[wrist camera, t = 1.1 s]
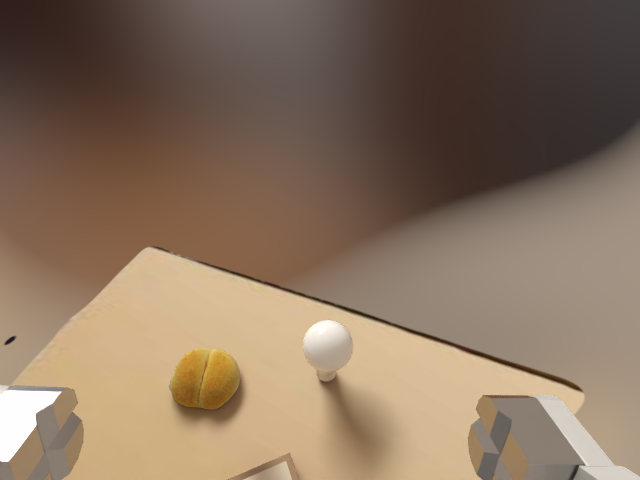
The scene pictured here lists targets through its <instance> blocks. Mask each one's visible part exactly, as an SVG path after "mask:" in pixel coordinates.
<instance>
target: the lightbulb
mask: <svg viewBox="0 0 640 480" xmlns="http://www.w3.org/2000/svg"><path fill="white" fill-rule="evenodd" d="M303 352H304V355H305V358H306V360H307V361H308V363H309V364H310V365H311V366H312V367H314V368H315V369H317V376H318V378H319V379H320V380H322V381H331V380H332V379H333V378H334V377H335V375H336V371H338V370H340V369H341V368H343V367H344V366H345V365H346V364H347V363H348V362H349V360H350V358H351V356H352V353H353V340H352V337H351V334H350V333H349V331H348V330H347V328H346V327H345V326H343V325H342V324H340V323H338V322H336V321H332V320H324V321H320V322H317V323H316V324H314V325H313V326H311V327H310V328H309V330H308V331H307V333H306V335H305V337H304V341H303Z"/></svg>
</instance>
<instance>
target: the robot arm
mask: <svg viewBox="0 0 640 480" xmlns="http://www.w3.org/2000/svg"><path fill="white" fill-rule="evenodd" d="M77 404H78V401H77V397H76V394H75V390H73V389H70V388H64V387H41V386H17V385H15V386H3V385H0V480H62V479H63V478H64V477H66V476H67V475H68V474H70V472H71V471H72V469H73V467H74V465H75V463H76V461H77V460H78V457H79V454H80V451H81V447H82V444H83V435H84V429H83V424H82V420H81V419H80V418H79V417H78V416H76V415H75V414H74V413H73V412H72V411H73V410H74V408H75V407H76V405H77ZM476 411H477V412H478V414H479V416H480V418H479V419H478V420H477V421H476V422H474V423H473V424H472V425H471V428H470V432H469V436H468V445H469V454H470V458H471V462H472V464H473V467H474V469H475V471H476V474H477V475H478V476H479V477H480V478H481V479H482V480H640V477H639V476H637V475H636V474H634V473H632V472H631V471H630V470H628V469H626V468H625V467H623V466H615V465H614V464H613V463H612V462H611V461H610V459H609V458H608V457H607V456H606V454H605V453H604V452H603V451H602V450H601V448H600V447H599V446H598V445H597V443H596V442H595V441H594V440H593V438H592V437H591V436H590V435H589V433H588V432H587V431H586V430H585V429H584V427H583V426H582V425H581V424H580V422H579V421H578V420H577V419H576V418H575V416H574V415H573V414H572V413H571V411H570V410H569V409H568V408H567V406H566V405H565V404H564V403H563V401H562V400H560V399H559V398H557V397H556V396H541V395H531V396H523V395H483V396H482V397H481V398H480V399H479V401H478V404H477V407H476Z"/></svg>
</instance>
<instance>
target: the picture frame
mask: <svg viewBox="0 0 640 480" xmlns="http://www.w3.org/2000/svg"><path fill="white" fill-rule="evenodd" d="M228 480H299V479H298V476H297V473H296V470H295V467H294V463H293V460H292V457H291V454H290V453H288V454H286V455H283V456H281V457H279V458H277V459H274V460H272V461H270V462H267V463H265V464H263V465H260V466H258V467H256V468H253V469H251V470H249V471H246V472H244V473H242V474H240V475H237V476H235V477H233V478H230V479H228Z"/></svg>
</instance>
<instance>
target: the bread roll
mask: <svg viewBox="0 0 640 480" xmlns="http://www.w3.org/2000/svg"><path fill="white" fill-rule="evenodd" d="M239 383H240V372H239V367H238V365H237V363H236V361H235V359H234V358H233V357H232V356H231V355H229V354H228V353H227V352H225V351H223V350H219V349H197V350H193V351H191V352H189V353H187V354H185V356H184V357H183V358H182V359H181V360H180V362H179V363H178V365H177V366H176V369H175V370H174V373H173V376H172V378H171V381H170V385H169V389H170V391H171V392H172V395H173V397H174V399H175V400H176V401H177V402H178V403H180V404H182V405H184V406H187V407H199V408H204V409H208V410H214V409H218V408H219V407H221V406H222V405H223V404H225V403H226V402H227V401H228V400H229V399H230V398H231V397H232V396H233V395H234V393H235V392H236V390H237V389H238V386H239Z"/></svg>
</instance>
